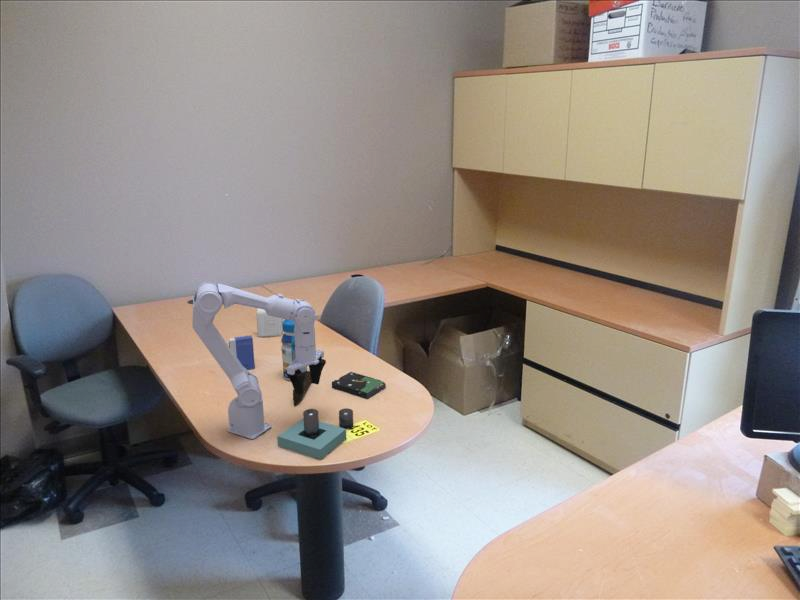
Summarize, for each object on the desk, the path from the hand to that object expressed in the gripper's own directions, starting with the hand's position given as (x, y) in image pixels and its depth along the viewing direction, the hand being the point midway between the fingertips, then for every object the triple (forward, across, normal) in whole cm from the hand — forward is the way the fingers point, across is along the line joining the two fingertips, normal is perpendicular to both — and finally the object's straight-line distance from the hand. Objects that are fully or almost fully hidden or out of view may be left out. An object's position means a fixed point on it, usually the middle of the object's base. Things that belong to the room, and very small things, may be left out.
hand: (307, 388), depth 168 cm
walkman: (+11, +19, +43) cm, 48 cm away
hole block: (+10, -9, -8) cm, 16 cm away
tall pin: (+10, -9, -8) cm, 16 cm away
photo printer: (+11, +50, +57) cm, 77 cm away
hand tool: (+11, +14, +13) cm, 22 cm away
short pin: (+10, +3, -11) cm, 16 cm away
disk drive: (+11, +26, -1) cm, 28 cm away
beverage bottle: (+11, +23, +23) cm, 34 cm away
